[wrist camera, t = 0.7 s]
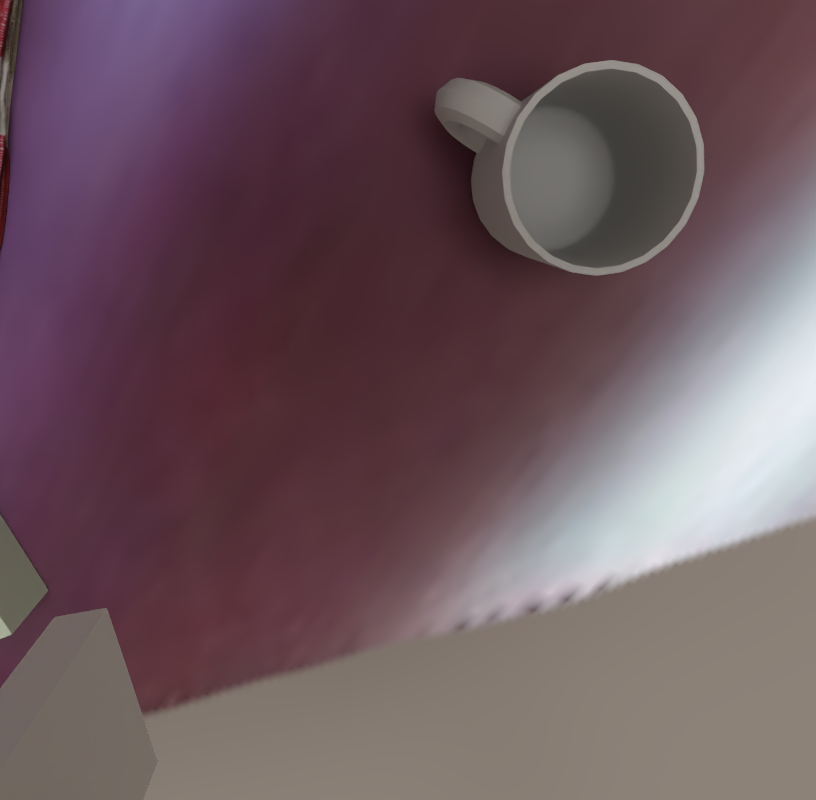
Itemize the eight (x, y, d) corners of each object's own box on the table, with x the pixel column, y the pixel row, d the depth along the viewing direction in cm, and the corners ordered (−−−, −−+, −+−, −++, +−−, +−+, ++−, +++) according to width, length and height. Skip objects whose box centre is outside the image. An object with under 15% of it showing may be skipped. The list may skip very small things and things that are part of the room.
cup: (565, 285, 35) (628, 311, 26) (389, 179, 33) (395, 169, 24) (648, 151, 33) (745, 132, 25) (469, 32, 32) (505, -33, 23)
